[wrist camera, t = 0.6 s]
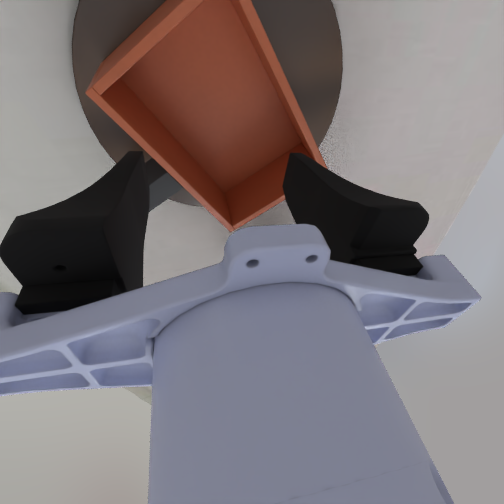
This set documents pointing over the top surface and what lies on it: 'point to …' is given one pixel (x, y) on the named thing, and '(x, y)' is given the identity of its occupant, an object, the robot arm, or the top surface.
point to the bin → (206, 107)
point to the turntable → (278, 32)
